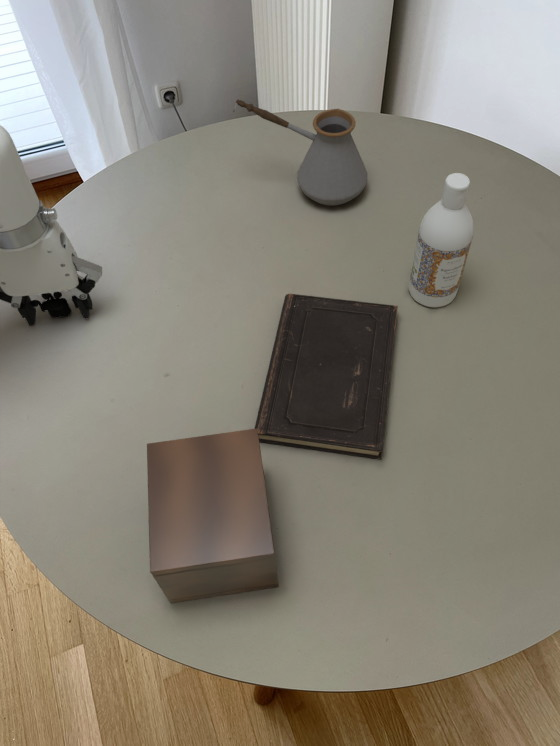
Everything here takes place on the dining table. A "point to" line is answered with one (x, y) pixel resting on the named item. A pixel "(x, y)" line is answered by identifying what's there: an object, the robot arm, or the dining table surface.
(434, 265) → the bath foam
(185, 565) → the bronze lidded case
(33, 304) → the wireless earbuds
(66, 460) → the dining table surface
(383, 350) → the hardcover book
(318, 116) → the coffee pot
